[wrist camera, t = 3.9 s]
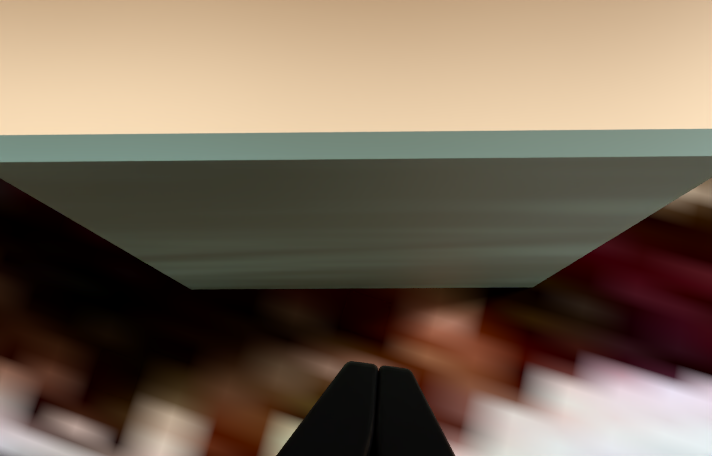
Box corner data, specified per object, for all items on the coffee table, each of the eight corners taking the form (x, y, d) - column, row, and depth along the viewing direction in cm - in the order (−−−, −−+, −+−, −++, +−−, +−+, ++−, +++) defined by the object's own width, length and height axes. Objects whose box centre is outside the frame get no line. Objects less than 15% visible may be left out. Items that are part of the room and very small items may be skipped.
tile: (532, 287, 16) (746, 156, 7) (191, 289, 16) (-27, 162, 7) (522, 146, 16) (702, -131, 8) (199, 149, 16) (13, -123, 8)
